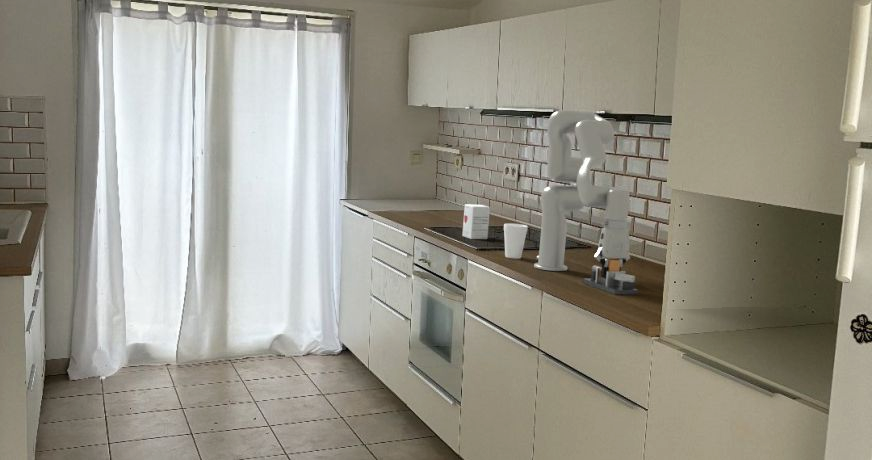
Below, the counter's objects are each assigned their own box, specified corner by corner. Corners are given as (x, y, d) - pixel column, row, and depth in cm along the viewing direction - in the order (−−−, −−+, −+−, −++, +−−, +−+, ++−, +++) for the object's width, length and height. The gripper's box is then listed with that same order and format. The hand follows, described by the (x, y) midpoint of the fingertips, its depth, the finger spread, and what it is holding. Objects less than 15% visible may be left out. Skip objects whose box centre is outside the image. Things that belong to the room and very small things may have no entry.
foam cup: (523, 259, 358) (526, 227, 357) (500, 257, 360) (502, 225, 358) (525, 256, 367) (528, 225, 366) (503, 254, 369) (505, 222, 368)
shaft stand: (582, 282, 316) (584, 264, 316) (604, 282, 320) (605, 264, 319) (614, 294, 298) (616, 275, 297) (637, 294, 302) (639, 275, 301)
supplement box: (461, 236, 416) (464, 203, 414) (478, 236, 420) (481, 204, 418) (470, 239, 408) (473, 206, 406) (488, 239, 412) (490, 206, 410)
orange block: (608, 280, 306) (610, 260, 305) (602, 278, 310) (603, 258, 309) (618, 280, 308) (620, 260, 307) (611, 278, 311) (613, 258, 310)
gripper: (600, 226, 300) (595, 280, 302) (642, 226, 306) (637, 279, 308) (588, 223, 306) (583, 276, 309) (629, 223, 313) (624, 275, 315)
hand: (610, 277), depth 308 cm, fingers closed on orange block, 4 cm apart
